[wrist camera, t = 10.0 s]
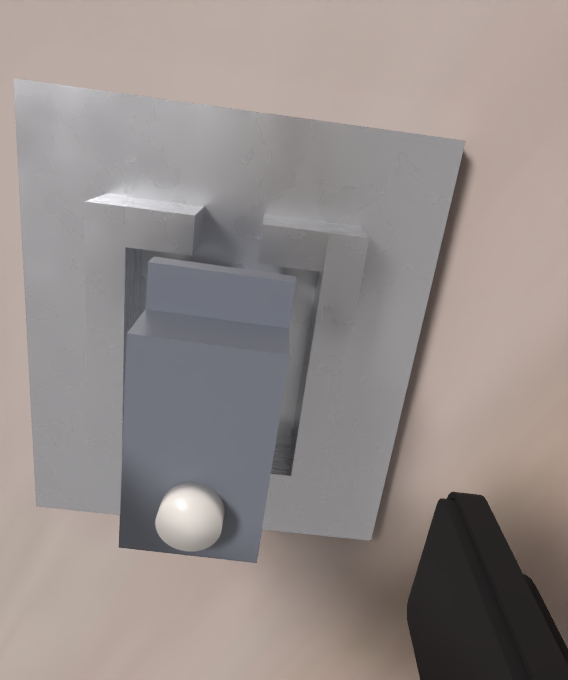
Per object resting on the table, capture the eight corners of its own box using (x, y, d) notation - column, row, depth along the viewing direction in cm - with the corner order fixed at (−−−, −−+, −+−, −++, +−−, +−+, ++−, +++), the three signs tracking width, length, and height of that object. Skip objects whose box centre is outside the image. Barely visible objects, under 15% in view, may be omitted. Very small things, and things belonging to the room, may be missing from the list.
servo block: (186, 225, 18) (120, 288, 11) (293, 240, 18) (298, 312, 11) (170, 440, 21) (110, 600, 14) (261, 451, 21) (249, 615, 14)
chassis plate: (28, 81, 17) (-23, 71, 14) (456, 140, 18) (488, 142, 15) (46, 490, 23) (13, 541, 20) (367, 524, 24) (378, 577, 21)
